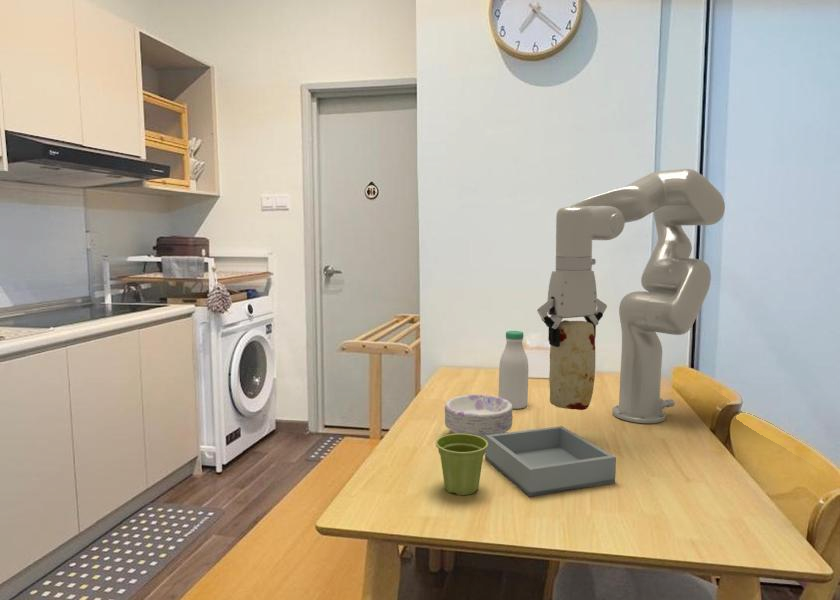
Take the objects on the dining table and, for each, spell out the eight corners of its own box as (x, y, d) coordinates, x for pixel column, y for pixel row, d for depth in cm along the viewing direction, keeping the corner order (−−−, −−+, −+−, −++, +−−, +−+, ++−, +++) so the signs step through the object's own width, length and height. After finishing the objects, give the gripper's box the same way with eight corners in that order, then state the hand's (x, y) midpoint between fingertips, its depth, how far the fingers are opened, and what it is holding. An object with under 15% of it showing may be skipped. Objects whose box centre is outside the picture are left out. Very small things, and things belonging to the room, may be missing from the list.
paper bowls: (435, 444, 126) (435, 409, 125) (455, 422, 140) (455, 391, 139) (504, 453, 121) (505, 417, 120) (517, 430, 135) (518, 397, 134)
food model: (548, 411, 127) (549, 321, 124) (549, 402, 133) (550, 316, 130) (594, 414, 124) (597, 323, 122) (593, 404, 131) (595, 317, 128)
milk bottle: (529, 409, 151) (531, 334, 148) (500, 409, 151) (501, 334, 148) (524, 401, 158) (526, 329, 156) (496, 401, 158) (498, 329, 156)
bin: (561, 448, 124) (561, 426, 123) (615, 483, 107) (616, 457, 106) (484, 458, 118) (485, 435, 117) (529, 497, 101) (530, 469, 100)
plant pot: (444, 503, 98) (445, 454, 97) (428, 480, 107) (429, 435, 106) (495, 496, 101) (496, 449, 100) (475, 475, 110) (476, 431, 109)
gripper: (596, 262, 131) (595, 337, 133) (529, 265, 125) (528, 344, 127) (618, 264, 124) (616, 343, 126) (547, 267, 118) (546, 351, 120)
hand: (572, 343), depth 127 cm, fingers closed on food model, 8 cm apart
